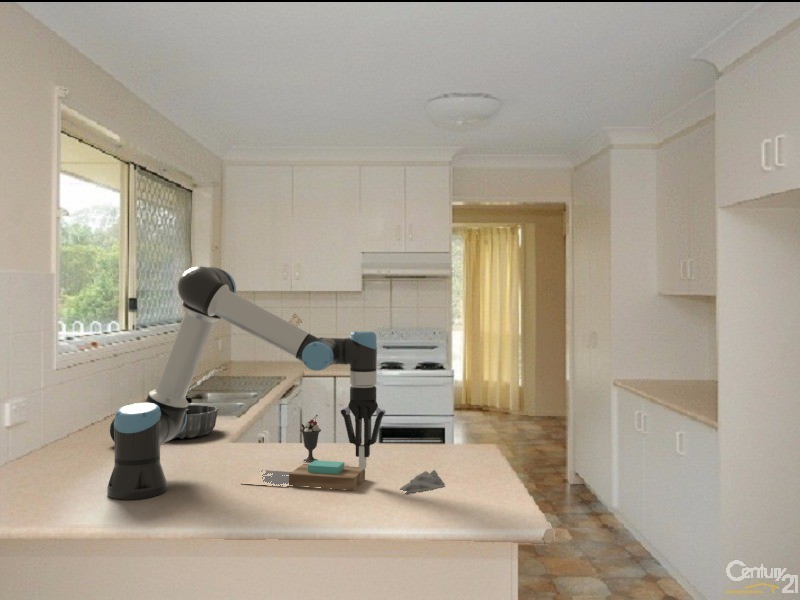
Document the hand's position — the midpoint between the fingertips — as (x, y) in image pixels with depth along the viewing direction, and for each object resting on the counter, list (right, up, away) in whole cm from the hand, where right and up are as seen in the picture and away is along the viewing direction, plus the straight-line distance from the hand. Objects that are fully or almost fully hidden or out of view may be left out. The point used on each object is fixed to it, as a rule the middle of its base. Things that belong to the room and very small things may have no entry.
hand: (362, 468), depth 193 cm
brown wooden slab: (-10, -5, +2) cm, 11 cm away
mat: (-26, -5, +6) cm, 27 cm away
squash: (-85, -4, +48) cm, 97 cm away
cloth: (+18, -6, +3) cm, 19 cm away
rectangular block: (-11, -1, +2) cm, 11 cm away
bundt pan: (-72, -4, +66) cm, 98 cm away
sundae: (-18, -5, +28) cm, 34 cm away
